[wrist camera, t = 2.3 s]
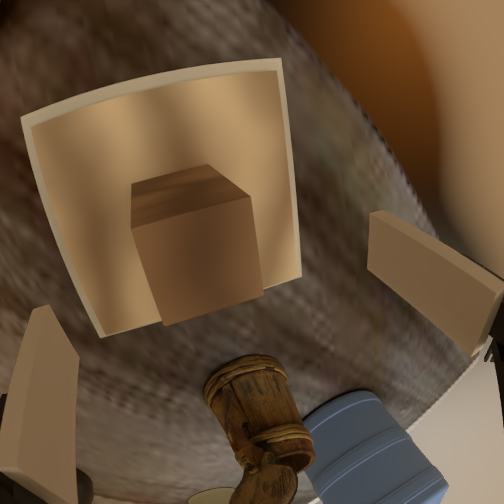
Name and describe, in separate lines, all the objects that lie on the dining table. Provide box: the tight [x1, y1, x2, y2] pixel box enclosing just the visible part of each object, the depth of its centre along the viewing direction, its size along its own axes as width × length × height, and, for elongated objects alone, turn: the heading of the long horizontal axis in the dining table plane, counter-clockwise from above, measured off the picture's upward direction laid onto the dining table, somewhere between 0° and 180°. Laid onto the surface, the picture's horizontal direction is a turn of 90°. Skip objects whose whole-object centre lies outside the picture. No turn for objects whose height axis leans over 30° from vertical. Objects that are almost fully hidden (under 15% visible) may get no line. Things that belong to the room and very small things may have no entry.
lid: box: [31, 70, 297, 335], centre depth 18 cm, size 16×16×9 cm
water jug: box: [303, 391, 449, 504], centre depth 32 cm, size 16×16×28 cm
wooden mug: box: [203, 355, 316, 504], centre depth 24 cm, size 9×14×18 cm, turn 36°
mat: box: [20, 58, 302, 338], centre depth 22 cm, size 18×18×1 cm
